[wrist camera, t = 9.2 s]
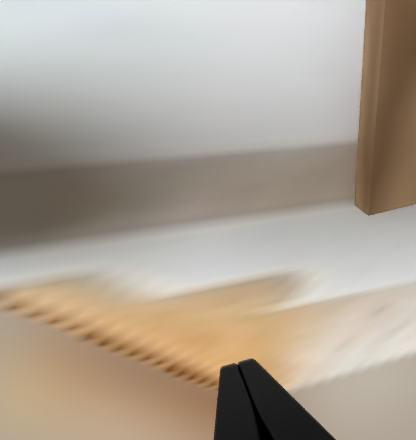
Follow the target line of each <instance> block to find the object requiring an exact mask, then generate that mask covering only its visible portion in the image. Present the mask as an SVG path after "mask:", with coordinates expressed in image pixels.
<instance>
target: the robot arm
mask: <svg viewBox="0 0 416 440" xmlns="http://www.w3.org/2000/svg"><path fill="white" fill-rule="evenodd" d="M214 431H215V432H214V440H336V439H335V438H334V437H333V436H332V435H331V434H330V433H329V432H327V431H326V429H325V428H324V427H323V426H322V425H321V424H320V423H319V422H318V421H317V420H316V419H314V418H313V417H312V416H311V415H310V414H309V413H308V412H307V411H306V410H305V409H304V408H303V407H302V406H301V405H300V404H299V403H298V402H297V401H296V400H295V399H294V398H293V397H292V396H291V395H290V394H289V393H288V392H287V391H286V390H285V389H284V388H283V387H282V386H281V385H280V384H279V383H278V382H277V381H276V380H275V379H274V378H273V377H272V376H271V375H270V374H269V373H268V372H267V371H266V370H265V369H264V368H263V367H262V366H261V365H260V364H259V363H258V362H257V361H256V360H254V359H252V358H251V359H247V360H243V361H240V362H238V364H235V363H233V364H229V365H225V366H222V367H221V369H220V377H219V388H218V398H217V409H216V420H215V430H214Z"/></svg>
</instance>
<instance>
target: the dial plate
mask: <svg viewBox="0 0 416 440" xmlns="http://www.w3.org/2000/svg"><path fill="white" fill-rule="evenodd" d="M413 204H416V0H366V14H365V32H364V50H363V67H362V85H361V103H360V120H359V138H358V156H357V173H356V191H355V206H357V207H358V208H359V209H360V210H362V211H363V212H364V213H366V214H367V215H368V216H369V215H373V214H377V213H381V212H385V211H389V210H393V209H397V208H401V207H405V206H409V205H413Z"/></svg>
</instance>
